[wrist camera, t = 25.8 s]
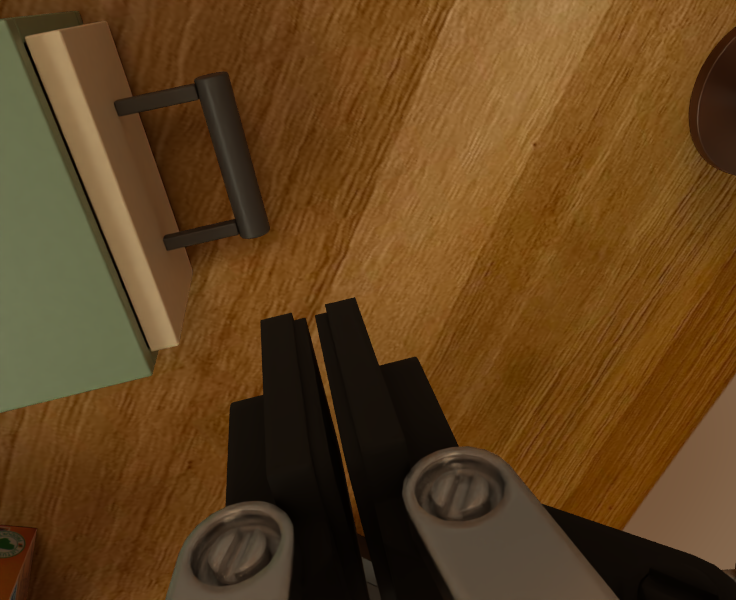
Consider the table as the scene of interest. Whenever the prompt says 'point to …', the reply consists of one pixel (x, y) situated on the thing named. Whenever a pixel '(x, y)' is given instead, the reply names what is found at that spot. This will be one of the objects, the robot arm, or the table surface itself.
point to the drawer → (141, 168)
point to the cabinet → (53, 251)
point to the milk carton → (15, 561)
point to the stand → (716, 107)
